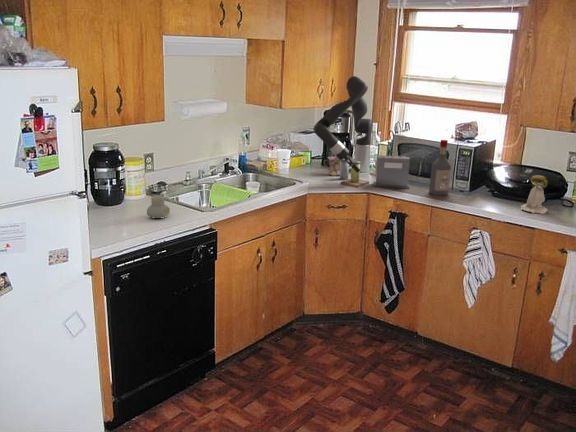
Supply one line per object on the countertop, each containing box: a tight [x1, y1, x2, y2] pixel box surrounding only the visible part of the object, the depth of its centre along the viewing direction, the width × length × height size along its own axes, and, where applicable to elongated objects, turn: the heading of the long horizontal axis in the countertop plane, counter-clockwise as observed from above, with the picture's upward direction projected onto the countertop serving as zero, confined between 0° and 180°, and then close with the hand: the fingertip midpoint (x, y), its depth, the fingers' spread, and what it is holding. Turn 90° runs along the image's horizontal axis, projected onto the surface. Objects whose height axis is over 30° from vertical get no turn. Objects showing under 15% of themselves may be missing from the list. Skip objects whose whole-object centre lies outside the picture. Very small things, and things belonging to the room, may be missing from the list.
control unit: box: [373, 154, 411, 189], centre depth 346 cm, size 9×20×17 cm, turn 84°
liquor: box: [428, 139, 452, 196], centre depth 331 cm, size 9×9×30 cm
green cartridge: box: [350, 160, 361, 183], centre depth 349 cm, size 5×5×12 cm
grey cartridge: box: [339, 159, 350, 181], centre depth 360 cm, size 5×5×12 cm
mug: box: [323, 156, 341, 177], centre depth 369 cm, size 12×9×11 cm
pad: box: [340, 178, 370, 188], centre depth 351 cm, size 12×12×1 cm
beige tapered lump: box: [520, 174, 548, 215], centre depth 305 cm, size 12×13×18 cm
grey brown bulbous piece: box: [146, 194, 171, 219], centre depth 281 cm, size 11×8×10 cm
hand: (357, 169), depth 349 cm, fingers open, 8 cm apart
